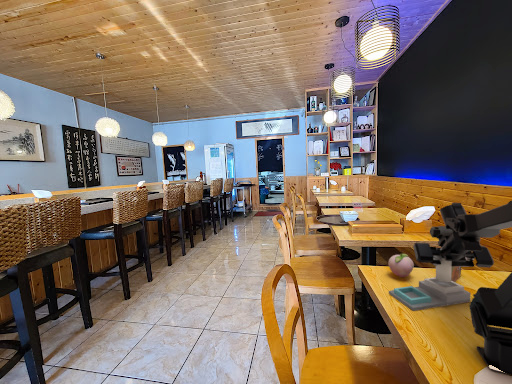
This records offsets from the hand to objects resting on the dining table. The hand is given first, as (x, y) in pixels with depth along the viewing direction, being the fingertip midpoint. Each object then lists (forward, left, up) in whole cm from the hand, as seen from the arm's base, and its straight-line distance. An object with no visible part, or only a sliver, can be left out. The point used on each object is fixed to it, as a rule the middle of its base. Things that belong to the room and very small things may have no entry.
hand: (441, 264), depth 75 cm
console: (-5, +5, -10) cm, 12 cm away
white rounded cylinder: (-1, 0, -5) cm, 5 cm away
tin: (+13, -6, -10) cm, 17 cm away
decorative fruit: (+9, +11, -10) cm, 17 cm away
